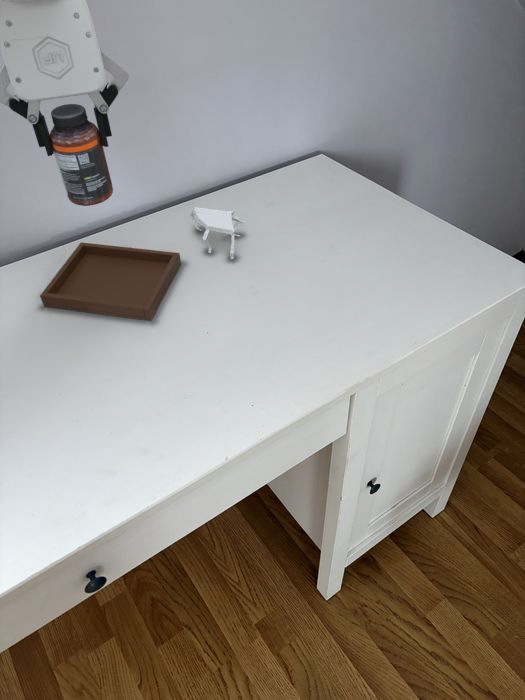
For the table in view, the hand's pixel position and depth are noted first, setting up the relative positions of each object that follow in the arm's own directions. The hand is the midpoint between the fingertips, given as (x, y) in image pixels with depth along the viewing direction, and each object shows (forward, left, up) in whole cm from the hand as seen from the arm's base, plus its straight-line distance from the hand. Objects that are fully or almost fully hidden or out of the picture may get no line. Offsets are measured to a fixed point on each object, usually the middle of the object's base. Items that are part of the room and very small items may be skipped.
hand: (77, 145), depth 70 cm
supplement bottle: (0, 0, -7) cm, 7 cm away
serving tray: (0, +1, -22) cm, 22 cm away
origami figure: (+12, +15, -22) cm, 29 cm away
